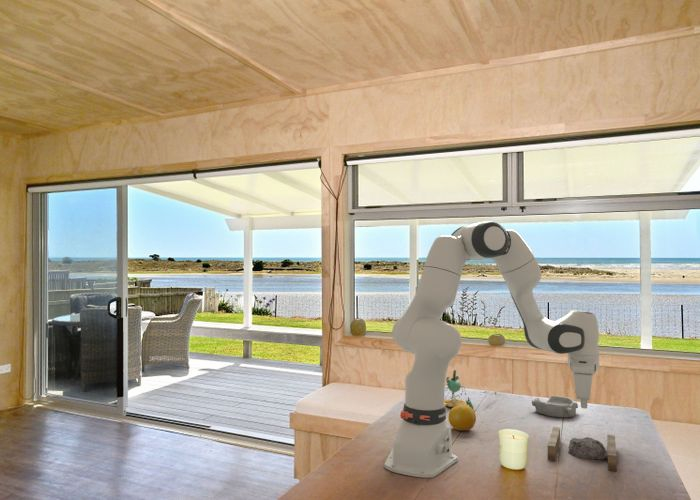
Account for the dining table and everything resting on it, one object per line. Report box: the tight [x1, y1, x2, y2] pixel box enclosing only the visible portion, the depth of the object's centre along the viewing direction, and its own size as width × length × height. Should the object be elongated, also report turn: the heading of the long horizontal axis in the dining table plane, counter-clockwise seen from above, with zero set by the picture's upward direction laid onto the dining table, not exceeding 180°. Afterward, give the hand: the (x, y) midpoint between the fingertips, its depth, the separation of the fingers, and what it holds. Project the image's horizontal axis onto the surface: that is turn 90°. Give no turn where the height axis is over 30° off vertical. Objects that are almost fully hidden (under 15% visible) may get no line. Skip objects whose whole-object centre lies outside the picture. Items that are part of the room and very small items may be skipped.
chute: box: [547, 426, 618, 472], centre depth 144 cm, size 18×17×4 cm
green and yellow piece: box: [444, 369, 476, 412], centre depth 193 cm, size 10×18×15 cm, turn 22°
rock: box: [568, 436, 608, 460], centre depth 145 cm, size 9×11×4 cm
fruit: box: [447, 405, 477, 432], centre depth 165 cm, size 9×8×8 cm
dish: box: [531, 395, 579, 418], centre depth 184 cm, size 14×14×5 cm
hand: (584, 407), depth 155 cm, fingers closed
